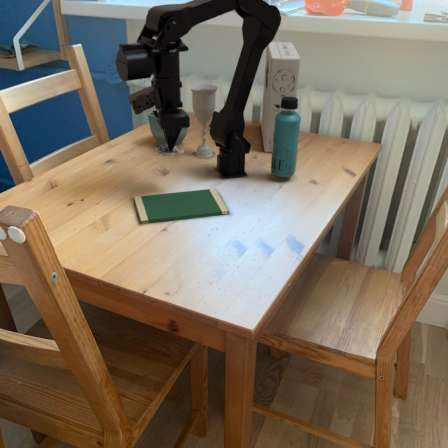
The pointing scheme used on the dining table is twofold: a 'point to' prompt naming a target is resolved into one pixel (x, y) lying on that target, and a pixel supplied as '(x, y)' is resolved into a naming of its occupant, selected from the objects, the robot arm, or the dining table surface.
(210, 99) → the chalice
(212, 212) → the green flat rectangular block
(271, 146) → the cereal box
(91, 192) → the dining table surface
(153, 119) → the flower pot
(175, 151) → the blueberries
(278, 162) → the beverage bottle
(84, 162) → the dining table surface
